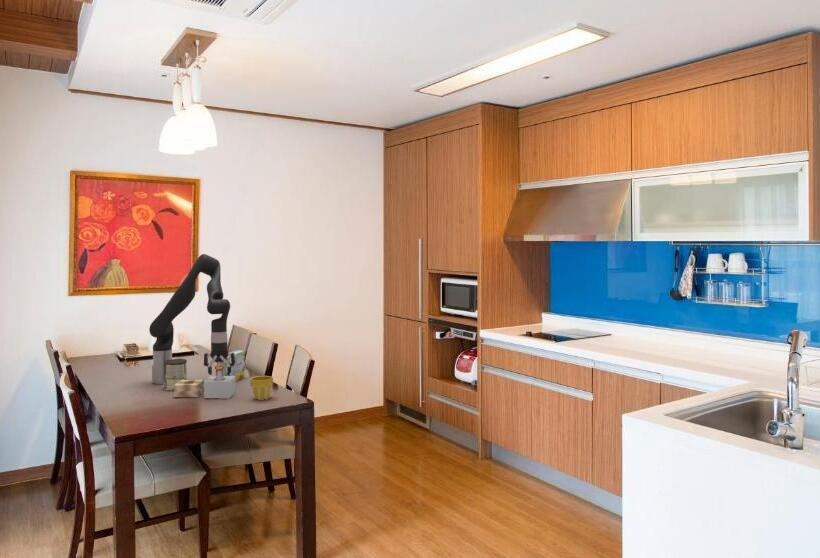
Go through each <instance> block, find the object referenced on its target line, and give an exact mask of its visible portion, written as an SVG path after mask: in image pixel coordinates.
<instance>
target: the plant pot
mask: <svg viewBox="0 0 820 558" xmlns="http://www.w3.org/2000/svg"><path fill="white" fill-rule="evenodd" d="M249 381H250V387H251V388H252V392H253V396H254V399H255V400H256V399H258V400H257V401H265V400H264V399H266V400H269V399H270V397H271V396H270V395H271V390H272V386H274V377H272V376H271V375H270V376H269V375H257V376H253V377H250V380H249ZM268 398H269V399H268Z"/></svg>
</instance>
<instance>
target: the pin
mask: <svg viewBox="0 0 820 558" xmlns="http://www.w3.org/2000/svg"><path fill="white" fill-rule="evenodd" d="M224 368H225V366H224V365H217V364H216V365H214V369H215V376H216V380H224Z"/></svg>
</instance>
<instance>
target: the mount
mask: <svg viewBox="0 0 820 558" xmlns="http://www.w3.org/2000/svg"><path fill="white" fill-rule="evenodd" d="M204 381H205V380H204V379H187V380H180V381H179V382H178V383H176V384H175V385H174V391H173V398H174V397H197V398H199V397H200V396H201V395H202V394H204Z"/></svg>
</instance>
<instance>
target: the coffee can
mask: <svg viewBox="0 0 820 558" xmlns="http://www.w3.org/2000/svg"><path fill="white" fill-rule="evenodd" d="M187 361H188V360H187V359H184V358H175V359H173V358H172V360H167V361H165V377H166V384H165V390H166V389H167V390H174V385H175V384H176V383H178V382H179V381H180V380H188V379H187V378H188V373H187V372H188V371H187V370H188V369H187V367H188V366H187V365H188V364H187ZM167 390H166V391H167Z"/></svg>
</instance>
